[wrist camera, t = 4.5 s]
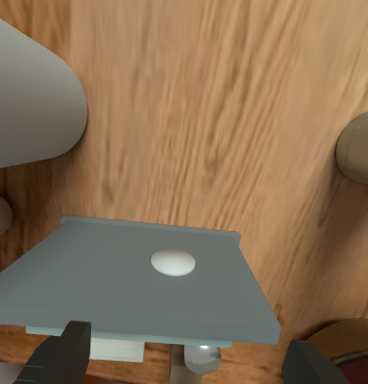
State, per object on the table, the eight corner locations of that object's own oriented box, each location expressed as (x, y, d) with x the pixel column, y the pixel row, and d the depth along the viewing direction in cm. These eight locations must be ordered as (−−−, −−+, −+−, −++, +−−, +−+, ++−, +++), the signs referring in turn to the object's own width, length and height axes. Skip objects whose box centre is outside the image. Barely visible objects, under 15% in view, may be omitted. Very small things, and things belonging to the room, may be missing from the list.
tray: (150, 283, 33) (148, 294, 31) (144, 347, 36) (142, 362, 34) (61, 275, 33) (52, 286, 30) (62, 341, 36) (54, 356, 33)
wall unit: (238, 230, 32) (296, 324, 16) (229, 275, 33) (274, 398, 18) (64, 213, 30) (-56, 296, 15) (64, 260, 32) (-42, 378, 17)
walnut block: (200, 339, 36) (203, 367, 32) (196, 360, 37) (199, 390, 33) (172, 337, 36) (171, 365, 32) (169, 359, 37) (168, 388, 33)
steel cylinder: (213, 298, 34) (223, 346, 27) (209, 322, 35) (218, 374, 28) (184, 296, 34) (186, 344, 26) (181, 320, 35) (182, 372, 27)
